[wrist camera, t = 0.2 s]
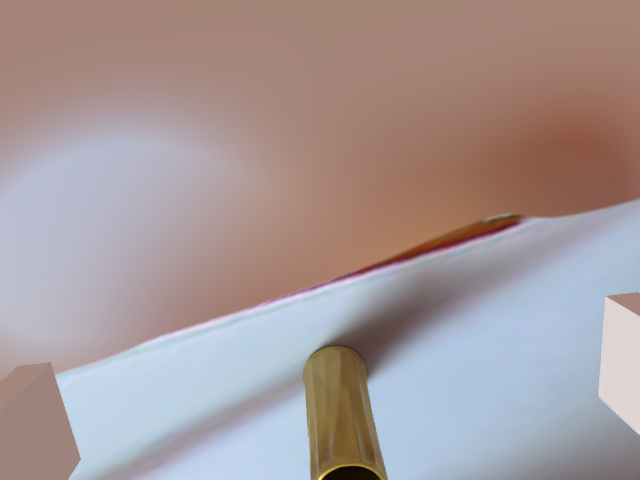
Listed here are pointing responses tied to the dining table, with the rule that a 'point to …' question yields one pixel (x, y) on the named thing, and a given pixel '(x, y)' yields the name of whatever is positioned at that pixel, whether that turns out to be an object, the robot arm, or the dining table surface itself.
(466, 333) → the dining table surface
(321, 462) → the vase
